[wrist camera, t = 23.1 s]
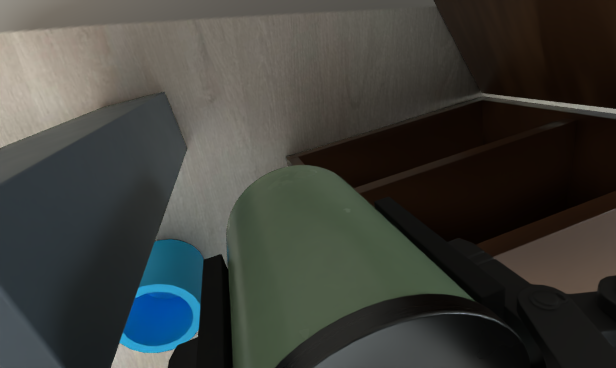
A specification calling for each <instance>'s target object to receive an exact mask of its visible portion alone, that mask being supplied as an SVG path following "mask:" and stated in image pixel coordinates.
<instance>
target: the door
mask: <svg viewBox="0 0 616 368" xmlns="http://www.w3.org/2000/svg"><path fill="white" fill-rule="evenodd" d="M434 2H435V4H436V6H437V8H438V10H439V11H440V13H441V15H442V17H443V19H444V21H445V23H446V25H447V27H448V29H449V31H450V33H451V35H452V37H453V39H454V41H455V43H456V44H457V46H458V48H459V50H460V52H461V54H462V56H463V58H464V60H465V62H466V64H467V66H468V68H469V70H470V72H471V74H472V75H473V77H474V79H475V81H476V83H477V85H478V87H479V89H480V91H481V93H486V94H495V95H503V96H511V97H520V98H528V99H537V100H545V101H554V102H562V103H571V104H579V105H588V106H596V107H605V108H613V109H616V0H434Z"/></svg>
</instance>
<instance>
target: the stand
mask: <svg viewBox="0 0 616 368" xmlns="http://www.w3.org/2000/svg"><path fill="white" fill-rule="evenodd" d="M186 151H187V147H186V144H185V142H184V139H183V137H182V134H181V132H180V129H179V127H178V124H177V122H176V119H175V117H174V114H173V112H172V109H171V107H170V104H169V102H168V99H167V97H166V94H165V92H161V93H157V94H153V95H149V96H145V97H141V98H138V99H134V100H130V101H126V102H122V103H118V104H114V105H111V106H107V107H103V108H100V109H97V110H95V111H92V112H90V113H87V114H85V115H82V116H80V117H77V118H75V119H72V120H70V121H67V122H65V123H62V124H60V125H57V126H54V127H52V128H49V129H47V130H44V131H42V132H39V133H37V134H34V135H32V136H29V137H27V138H24V139H22V140H19V141H17V142H14V143H12V144H9V145H7V146H4V147H2V148H0V368H111V365H112V362H113V359H114V357H115V354H116V351H117V348H118V345H119V342H120V339H121V337H122V334H123V331H124V328H125V325H126V322H127V319H128V317H129V314H130V311H131V308H132V305H133V302H134V299H135V297H136V294H137V291H138V288H139V285H140V282H141V279H142V277H143V274H144V271H145V268H146V265H147V262H148V259H149V256H150V254H151V251H152V248H153V245H154V242H155V239H156V236H157V234H158V231H159V228H160V225H161V222H162V219H163V216H164V214H165V211H166V208H167V205H168V202H169V199H170V196H171V194H172V191H173V188H174V185H175V182H176V179H177V176H178V173H179V171H180V168H181V165H182V162H183V159H184V156H185V153H186Z"/></svg>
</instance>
